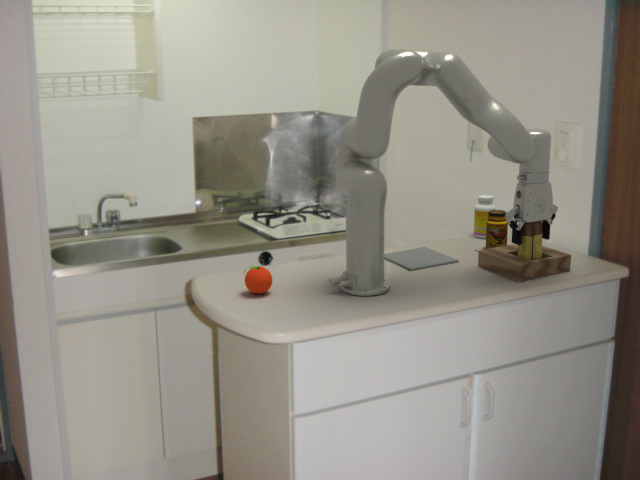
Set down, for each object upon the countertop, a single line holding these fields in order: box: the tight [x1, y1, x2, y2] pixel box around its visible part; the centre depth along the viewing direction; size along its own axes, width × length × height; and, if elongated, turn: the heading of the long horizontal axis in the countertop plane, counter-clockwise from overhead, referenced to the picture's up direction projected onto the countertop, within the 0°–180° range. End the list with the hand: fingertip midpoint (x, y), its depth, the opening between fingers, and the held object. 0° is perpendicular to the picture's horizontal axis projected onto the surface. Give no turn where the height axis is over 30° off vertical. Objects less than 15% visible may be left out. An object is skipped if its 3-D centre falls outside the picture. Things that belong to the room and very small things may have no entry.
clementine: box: [242, 265, 274, 294], centre depth 187 cm, size 8×7×7 cm
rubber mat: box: [384, 246, 459, 272], centre depth 213 cm, size 16×16×1 cm
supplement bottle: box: [473, 194, 497, 239], centre depth 234 cm, size 7×7×13 cm
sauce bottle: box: [518, 221, 543, 261], centre depth 199 cm, size 7×6×20 cm
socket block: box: [477, 243, 572, 283], centre depth 202 cm, size 18×16×4 cm
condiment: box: [475, 209, 509, 252], centre depth 219 cm, size 7×8×12 cm
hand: (530, 241), depth 199 cm, fingers open, 9 cm apart
